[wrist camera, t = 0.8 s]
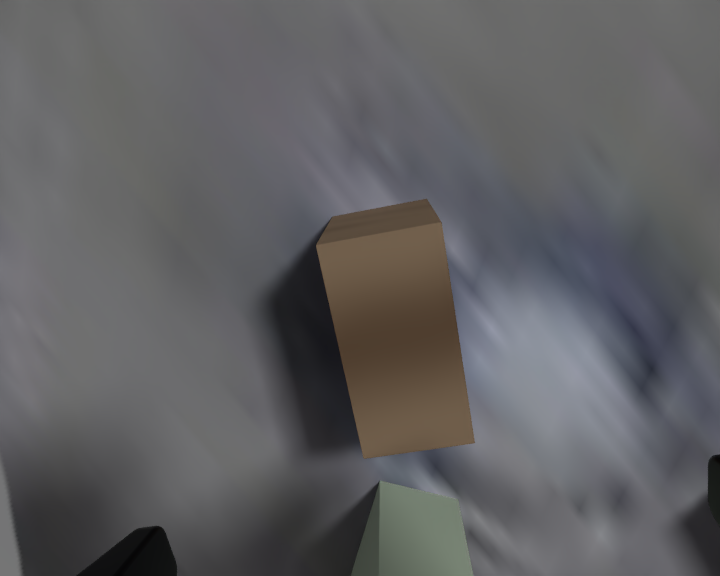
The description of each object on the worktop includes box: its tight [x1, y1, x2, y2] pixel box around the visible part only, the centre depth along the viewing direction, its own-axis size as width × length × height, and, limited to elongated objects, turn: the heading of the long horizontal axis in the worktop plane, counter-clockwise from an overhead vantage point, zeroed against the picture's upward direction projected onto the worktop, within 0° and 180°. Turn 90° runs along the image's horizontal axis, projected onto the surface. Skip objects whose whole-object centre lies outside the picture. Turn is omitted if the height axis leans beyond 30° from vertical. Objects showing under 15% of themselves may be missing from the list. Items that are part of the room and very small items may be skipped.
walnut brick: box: [316, 199, 475, 459], centre depth 18 cm, size 7×4×5 cm, turn 11°
